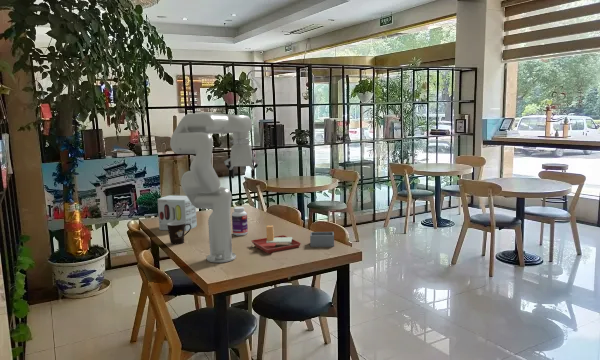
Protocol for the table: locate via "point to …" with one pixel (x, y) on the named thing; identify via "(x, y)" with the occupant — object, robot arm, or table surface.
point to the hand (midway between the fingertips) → (242, 177)
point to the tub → (322, 239)
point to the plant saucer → (273, 245)
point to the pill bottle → (239, 221)
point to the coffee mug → (177, 232)
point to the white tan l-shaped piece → (278, 239)
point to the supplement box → (176, 211)
